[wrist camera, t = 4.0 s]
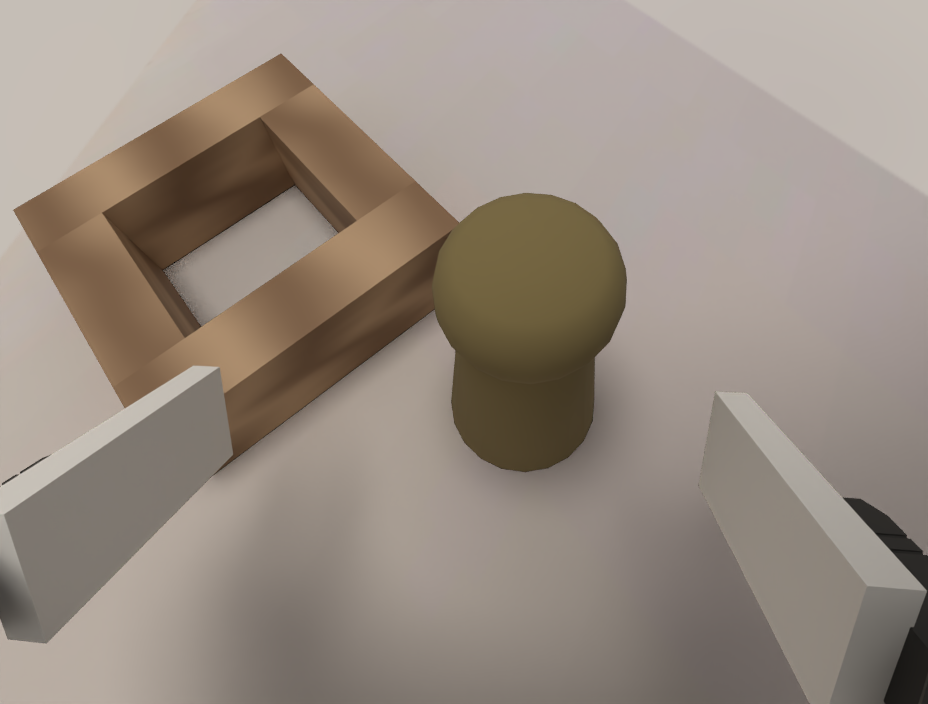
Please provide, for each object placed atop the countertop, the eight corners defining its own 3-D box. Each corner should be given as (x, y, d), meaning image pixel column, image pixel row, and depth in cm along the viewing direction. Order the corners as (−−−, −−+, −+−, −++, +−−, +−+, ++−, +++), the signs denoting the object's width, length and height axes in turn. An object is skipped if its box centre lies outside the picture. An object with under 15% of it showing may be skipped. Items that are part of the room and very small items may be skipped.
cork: (449, 472, 22) (399, 368, 12) (452, 338, 25) (412, 162, 15) (600, 470, 22) (675, 361, 12) (587, 334, 24) (640, 150, 14)
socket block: (311, 125, 31) (281, 53, 27) (468, 283, 26) (460, 223, 22) (85, 266, 28) (13, 209, 24) (212, 475, 23) (147, 448, 19)
